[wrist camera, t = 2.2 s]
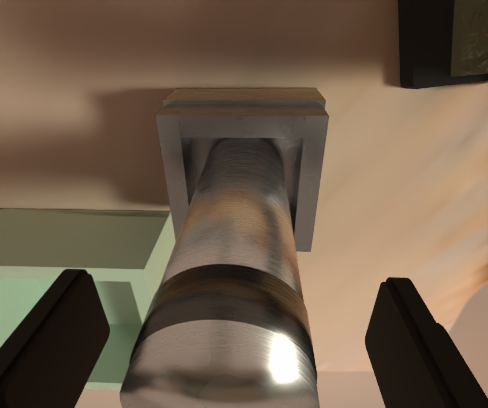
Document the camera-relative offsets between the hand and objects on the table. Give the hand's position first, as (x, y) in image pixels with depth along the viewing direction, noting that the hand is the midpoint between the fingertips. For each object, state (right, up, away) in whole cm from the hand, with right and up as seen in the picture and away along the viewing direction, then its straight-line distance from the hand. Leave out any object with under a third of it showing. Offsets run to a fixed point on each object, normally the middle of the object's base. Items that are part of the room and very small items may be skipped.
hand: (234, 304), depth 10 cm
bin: (-11, -3, +16) cm, 20 cm away
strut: (0, +5, +7) cm, 9 cm away
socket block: (0, +7, +9) cm, 12 cm away
